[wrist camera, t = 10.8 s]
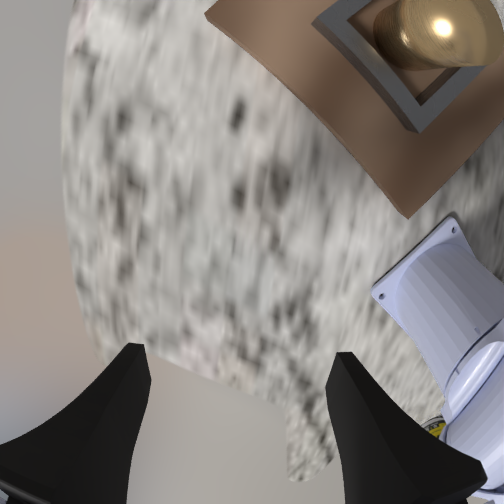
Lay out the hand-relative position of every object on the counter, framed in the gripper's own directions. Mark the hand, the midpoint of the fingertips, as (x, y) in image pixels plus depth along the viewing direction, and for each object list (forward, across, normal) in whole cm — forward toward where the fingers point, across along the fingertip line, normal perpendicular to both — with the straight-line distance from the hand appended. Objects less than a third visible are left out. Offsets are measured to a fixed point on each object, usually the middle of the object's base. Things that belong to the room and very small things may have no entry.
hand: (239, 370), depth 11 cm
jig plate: (+9, -8, -14) cm, 19 cm away
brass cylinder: (+8, -8, -14) cm, 18 cm away
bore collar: (+8, -8, -14) cm, 18 cm away
